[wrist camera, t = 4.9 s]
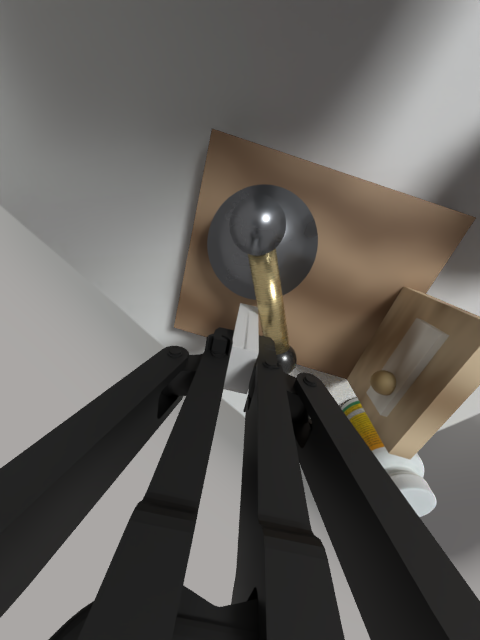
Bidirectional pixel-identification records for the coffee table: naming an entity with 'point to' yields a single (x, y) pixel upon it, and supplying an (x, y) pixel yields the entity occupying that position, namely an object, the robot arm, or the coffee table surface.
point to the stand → (351, 289)
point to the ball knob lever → (264, 254)
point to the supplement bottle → (394, 462)
